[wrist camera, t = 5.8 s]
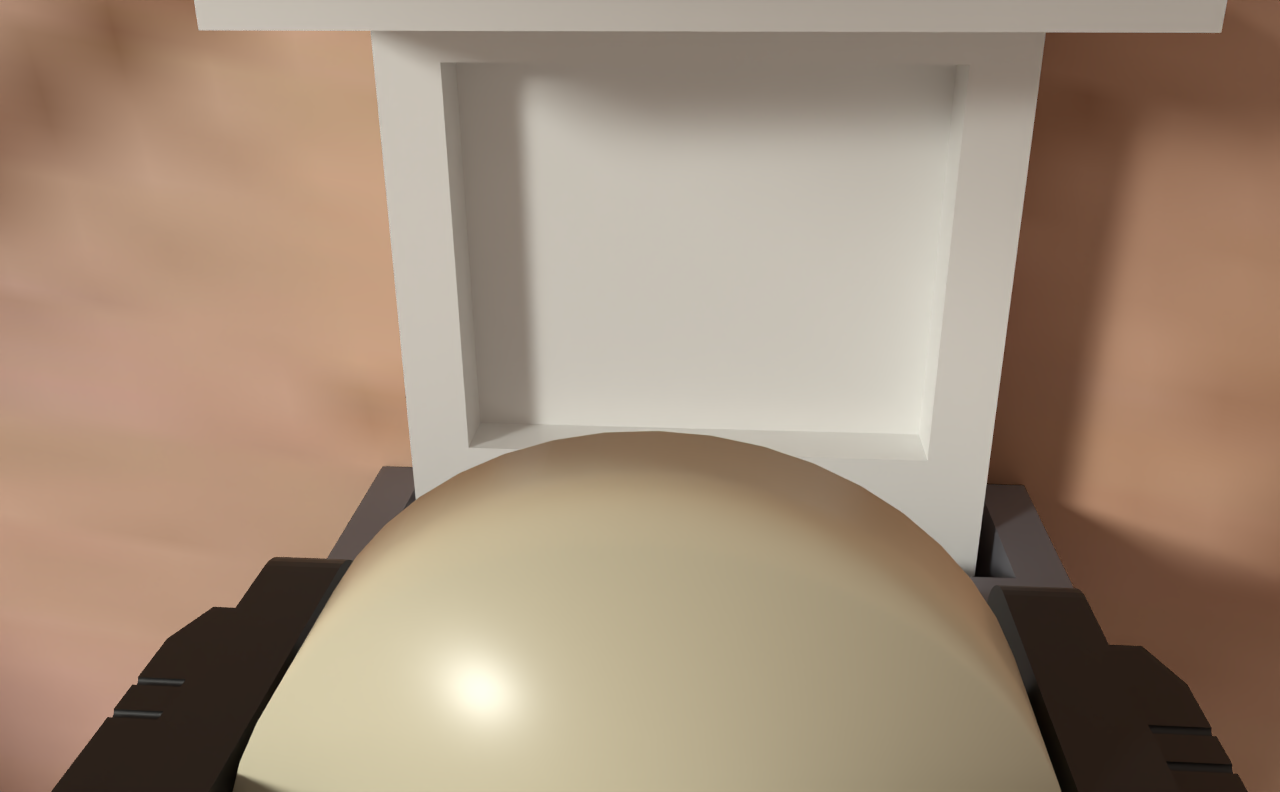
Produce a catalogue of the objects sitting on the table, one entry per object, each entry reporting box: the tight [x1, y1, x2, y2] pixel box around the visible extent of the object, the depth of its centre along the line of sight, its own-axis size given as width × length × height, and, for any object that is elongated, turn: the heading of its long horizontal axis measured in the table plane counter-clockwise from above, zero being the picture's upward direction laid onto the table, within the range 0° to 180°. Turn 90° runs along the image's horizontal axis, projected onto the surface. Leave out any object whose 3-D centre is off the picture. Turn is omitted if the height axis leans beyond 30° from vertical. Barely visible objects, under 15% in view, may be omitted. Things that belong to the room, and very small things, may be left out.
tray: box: [194, 0, 1227, 577], centre depth 21 cm, size 14×14×6 cm
